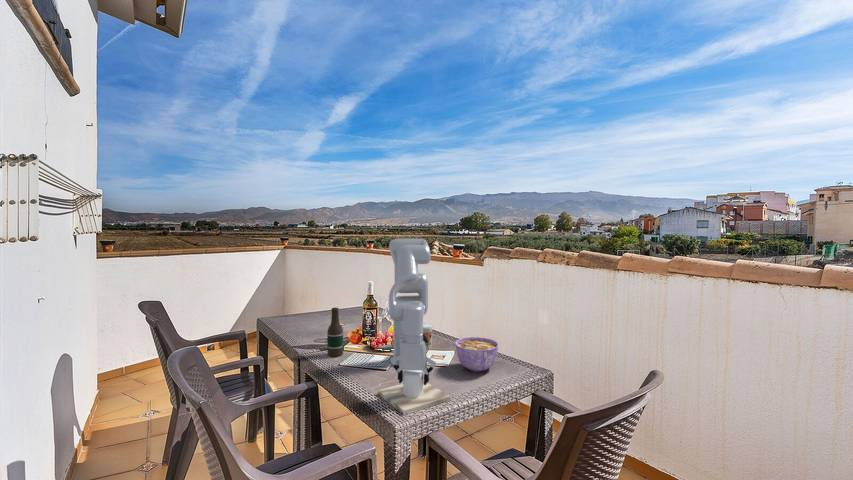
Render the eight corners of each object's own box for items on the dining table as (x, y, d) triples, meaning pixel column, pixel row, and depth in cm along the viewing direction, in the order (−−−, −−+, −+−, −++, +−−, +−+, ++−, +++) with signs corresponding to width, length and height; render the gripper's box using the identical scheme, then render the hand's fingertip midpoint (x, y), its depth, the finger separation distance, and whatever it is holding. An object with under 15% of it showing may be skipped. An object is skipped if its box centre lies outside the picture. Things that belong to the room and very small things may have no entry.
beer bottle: (346, 354, 195) (346, 307, 194) (335, 358, 188) (334, 310, 187) (335, 351, 199) (335, 305, 198) (324, 355, 192) (323, 308, 191)
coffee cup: (419, 351, 200) (419, 328, 199) (412, 346, 208) (412, 324, 208) (435, 348, 203) (435, 326, 203) (428, 343, 212) (428, 322, 211)
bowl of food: (498, 378, 163) (498, 351, 163) (452, 374, 167) (452, 348, 167) (499, 362, 183) (499, 338, 182) (457, 359, 187) (457, 335, 187)
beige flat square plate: (377, 394, 148) (377, 376, 148) (420, 382, 159) (420, 365, 159) (404, 415, 131) (404, 395, 131) (450, 400, 143) (450, 381, 142)
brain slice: (361, 346, 208) (361, 341, 208) (387, 340, 218) (387, 335, 218) (379, 356, 193) (379, 350, 192) (407, 349, 203) (407, 343, 203)
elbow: (401, 396, 142) (401, 375, 142) (408, 384, 153) (408, 364, 153) (420, 398, 141) (420, 376, 141) (426, 386, 152) (426, 366, 151)
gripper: (388, 339, 143) (388, 385, 143) (434, 342, 139) (433, 388, 140) (393, 334, 150) (393, 377, 150) (437, 336, 147) (437, 380, 147)
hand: (413, 382), depth 145 cm, fingers open, 9 cm apart
